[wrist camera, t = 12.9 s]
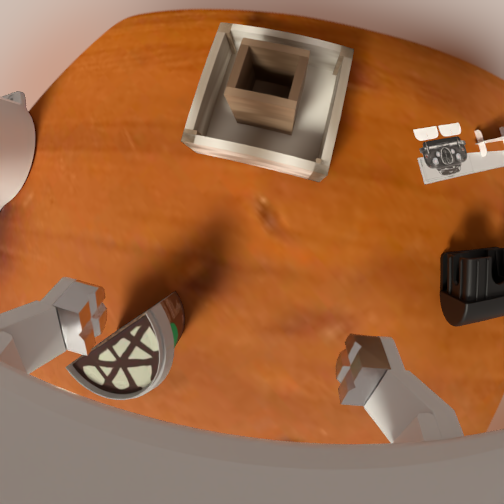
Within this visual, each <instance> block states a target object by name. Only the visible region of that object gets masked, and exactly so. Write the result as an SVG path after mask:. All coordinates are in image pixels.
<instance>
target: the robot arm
mask: <svg viewBox="0 0 504 504" xmlns="http://www.w3.org/2000/svg"><path fill="white" fill-rule="evenodd" d="M34 149H35V128H34V123H33V120H32V118H31V116H30V114H29V112H28V111H27V109H26V100H25V95H24V93H23V92H19V91H17V92H14V93H11V94H8V95H6V96H3V97H0V211H1V209H2V207H3V206H4V205H5V204H6V203H8V202H9V201H10V200H11V199H13V198H14V197H15V196H16V194H17V193H18V192H19V190H20V189H21V187H22V186H23V184H24V182H25V180H26V178H27V176H28V173H29V170H30V167H31V164H32V160H33V156H34ZM104 299H105V291H104V288H103V287H101V286H98V285H94V284H90V283H87V282H83V281H80V280H76V279H72V278H69V277H63V278H62V279H61V280H60V281H59V282H58V283H57V284H56V285H55V286H54V287H53V288H52V289H51V290H50V291H49V292H48V293H47V295H46V296H45V297H44V298H43V299H42V300H41V301H40V302H39V301H34V302H31V303H29V304H26V305H23V306H21V307H18V308H15V309H12V310H10V311H7V312H4V313H2V314H0V504H504V429H500V430H496V431H491V432H486V433H480V434H475V435H469V436H464V435H463V432H462V429H461V427H460V424H459V421H458V419H457V416H456V414H455V411H454V410H453V409H452V408H451V407H450V406H449V405H448V404H446V403H445V402H444V401H443V400H442V399H441V398H440V397H438V396H437V395H436V394H435V393H434V392H433V391H432V390H430V389H429V388H428V387H427V386H426V385H425V384H424V383H422V382H421V381H420V380H419V379H418V378H417V377H416V376H414V375H413V374H412V373H411V372H410V371H405V368H404V366H403V363H402V360H401V358H400V355H399V353H398V350H397V348H396V345H395V343H394V340H393V339H392V338H391V337H381V336H377V337H376V336H367V335H359V334H350V335H349V336H348V337H347V339H346V341H345V345H346V349H344V350H343V351H341V352H340V354H339V356H338V359H337V363H336V379H337V380H338V381H339V382H340V383H341V384H340V386H339V388H338V391H339V397H340V403H341V404H344V405H357V406H364V408H365V410H366V411H367V412H368V414H369V415H370V416H371V417H372V419H373V420H374V421H375V423H376V424H377V425H378V427H379V428H380V429H381V430H382V432H383V433H384V434H385V436H386V437H387V438H388V440H389V441H390V442H391V443H390V444H321V443H303V442H290V441H279V440H269V439H260V438H252V437H245V436H238V435H232V434H225V433H219V432H214V431H208V430H203V429H198V428H193V427H188V426H184V425H179V424H175V423H171V422H166V421H162V420H158V419H154V418H151V417H147V416H143V415H140V414H136V413H132V412H129V411H126V410H122V409H119V408H116V407H113V406H110V405H106V404H103V403H100V402H97V401H95V400H92V399H89V398H86V397H83V396H80V395H78V394H75V393H72V392H70V391H67V390H65V389H62V388H60V387H57V386H55V385H52V384H50V383H48V382H45V381H43V380H41V379H38V378H36V377H34V376H31V375H29V373H31V372H33V371H34V370H36V369H37V368H39V367H41V366H42V365H44V364H45V363H47V362H49V361H50V360H52V359H54V358H55V357H57V356H58V355H60V354H62V353H63V352H65V351H66V350H69V351H73V352H76V353H79V354H82V355H86V356H88V355H89V353H90V351H91V350H92V348H93V346H94V345H95V343H96V342H95V337H96V336H98V335H100V334H101V333H102V332H103V330H104V328H105V324H106V321H107V308H106V307H105V305H104V304H103V303H102V302H103V300H104Z"/></svg>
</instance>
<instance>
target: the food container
mask: <svg viewBox="0 0 504 504" xmlns="http://www.w3.org/2000/svg"><path fill="white" fill-rule="evenodd" d="M184 325H185V315H184V309H183V305H182V302H181V300H180V298H179V296H178V294H177V293H176V291H175V292H173V293H172V294H170V295H169V296H167V297H166V298H164V299H163V300H161V301H160V302H158V303H157V304H155V305H154V306H153V307H151V308H150V309H148V310H147V311H145V312H144V313H142V314H141V315H139V316H138V317H136V318H135V319H133V320H132V321H130V322H129V323H127V324H126V325H124V326H123V327H122V328H120V329H119V330H117V331H116V332H114V333H113V334H111V335H110V336H109V337H107V338H106V339H104V340H103V341H102V342H100V343H99V344H97V345H96V346H95V347H93V348H92V350H91V351H90V353H89V355H88V356H86V355H82V356H81V357H79V358H78V359H76V360H75V361H73V362H72V363H71V364H69V365H68V366H67V367H66V369H67V370H68V371H69V373H70V374H71V375H72V376H73V377H74V378H75V379H76V380H77V381H78V382H79V383H80V384H81V385H83V386H84V387H85V388H87V389H88V390H90V391H91V392H93V393H95V394H97V395H99V396H102V397H105V398H109V399H115V400H126V399H132V398H137V397H139V396H142V395H144V394H146V393H147V392H149V391H150V390H152V389H154V388H155V387H157V386H158V385H159V384H160V383H161V382H162V381H163V380H164V379H165V377H166V376H167V374H168V373H169V370H170V368H171V365H172V362H173V357H174V348H175V346H176V344H177V342H178V341H179V339H180V337H181V335H182V332H183V329H184Z"/></svg>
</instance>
